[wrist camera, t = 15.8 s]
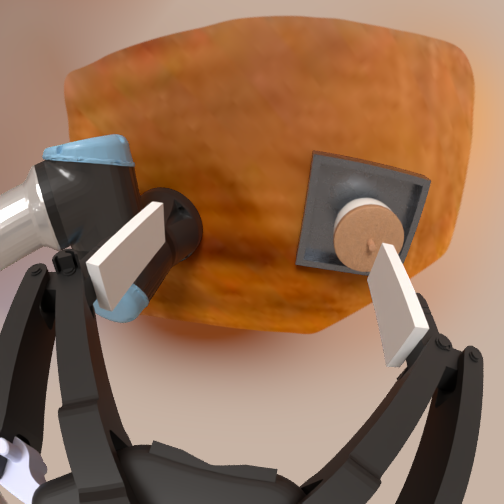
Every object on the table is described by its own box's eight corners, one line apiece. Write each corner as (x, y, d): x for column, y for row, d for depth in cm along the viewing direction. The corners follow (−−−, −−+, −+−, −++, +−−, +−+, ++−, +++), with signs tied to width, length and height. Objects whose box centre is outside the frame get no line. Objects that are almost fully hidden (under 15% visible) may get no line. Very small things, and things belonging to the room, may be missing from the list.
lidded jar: (401, 205, 40) (421, 231, 32) (371, 254, 46) (381, 288, 38) (347, 177, 39) (357, 198, 32) (319, 232, 45) (321, 263, 38)
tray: (296, 255, 50) (295, 264, 47) (313, 150, 39) (313, 154, 37) (392, 270, 47) (396, 279, 45) (424, 175, 37) (431, 180, 34)
